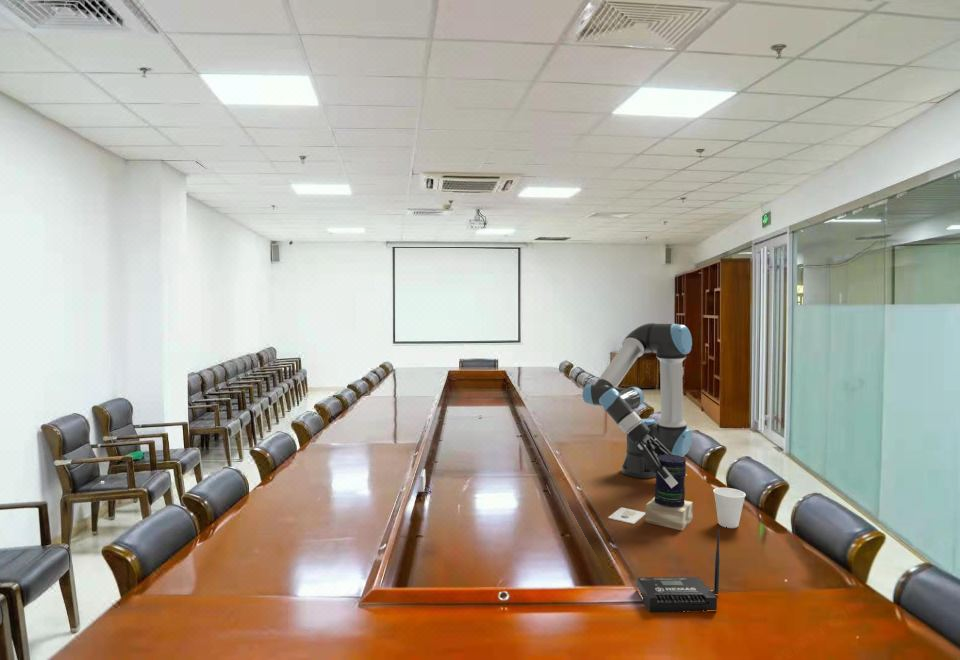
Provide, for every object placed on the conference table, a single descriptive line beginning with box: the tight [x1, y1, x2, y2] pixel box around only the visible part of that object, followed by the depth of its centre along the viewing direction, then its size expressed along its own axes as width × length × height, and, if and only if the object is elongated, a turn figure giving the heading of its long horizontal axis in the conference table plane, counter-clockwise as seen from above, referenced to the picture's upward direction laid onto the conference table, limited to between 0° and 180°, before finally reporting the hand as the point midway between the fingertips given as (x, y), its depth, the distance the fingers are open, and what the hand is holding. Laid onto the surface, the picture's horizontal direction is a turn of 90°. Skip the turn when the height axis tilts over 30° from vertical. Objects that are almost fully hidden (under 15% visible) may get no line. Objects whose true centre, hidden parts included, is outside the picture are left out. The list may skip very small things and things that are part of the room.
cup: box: [712, 487, 747, 529], centre depth 193 cm, size 10×10×11 cm
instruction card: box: [607, 506, 646, 525], centre depth 201 cm, size 12×9×1 cm
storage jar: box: [653, 454, 687, 507], centre depth 196 cm, size 10×10×15 cm
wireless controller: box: [635, 529, 721, 614], centre depth 143 cm, size 20×14×17 cm
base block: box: [644, 496, 694, 531], centre depth 197 cm, size 12×12×6 cm
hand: (679, 481), depth 194 cm, fingers closed on storage jar, 10 cm apart
